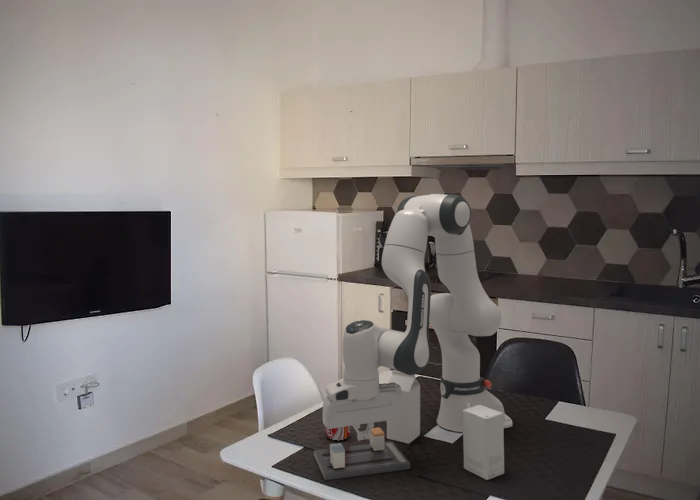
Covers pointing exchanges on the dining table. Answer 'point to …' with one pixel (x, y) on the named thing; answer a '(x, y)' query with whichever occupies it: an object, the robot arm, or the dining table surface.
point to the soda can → (338, 433)
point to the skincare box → (483, 441)
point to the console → (362, 461)
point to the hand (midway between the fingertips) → (363, 439)
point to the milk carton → (406, 409)
